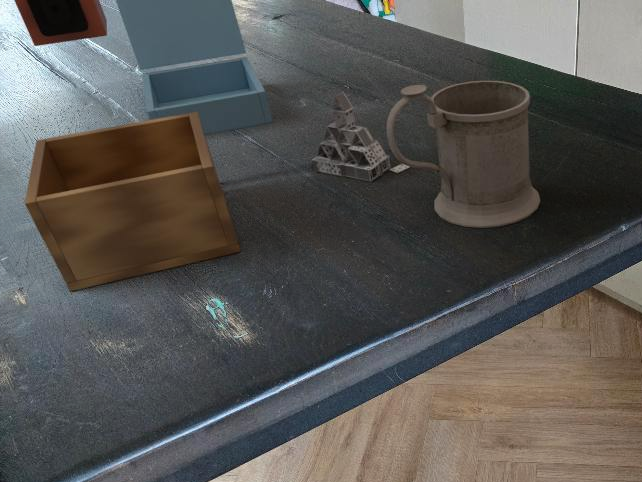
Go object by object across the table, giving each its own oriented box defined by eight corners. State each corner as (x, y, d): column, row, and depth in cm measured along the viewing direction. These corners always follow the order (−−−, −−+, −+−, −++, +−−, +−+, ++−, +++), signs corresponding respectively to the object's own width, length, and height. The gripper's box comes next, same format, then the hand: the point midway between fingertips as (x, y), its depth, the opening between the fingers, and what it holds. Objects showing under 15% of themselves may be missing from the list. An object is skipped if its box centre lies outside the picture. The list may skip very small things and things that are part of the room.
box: (274, 128, 84) (265, 91, 81) (160, 150, 81) (146, 111, 78) (256, 91, 94) (246, 56, 92) (154, 109, 91) (141, 73, 88)
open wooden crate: (70, 292, 59) (24, 203, 54) (74, 220, 68) (35, 140, 63) (240, 252, 63) (212, 165, 58) (222, 190, 72) (197, 111, 67)
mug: (493, 170, 73) (485, 43, 65) (561, 201, 67) (561, 66, 59) (372, 219, 66) (347, 84, 58) (437, 259, 60) (419, 115, 52)
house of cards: (430, 152, 77) (421, 77, 72) (384, 186, 71) (371, 107, 66) (361, 140, 80) (348, 68, 75) (312, 171, 75) (294, 96, 70)
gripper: (-110, -291, 49) (22, 7, 60) (-179, -317, 36) (2, 62, 48) (14, -294, 51) (118, -6, 62) (-13, -320, 39) (122, 43, 50)
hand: (66, 21), depth 55 cm, fingers closed on block, 5 cm apart
